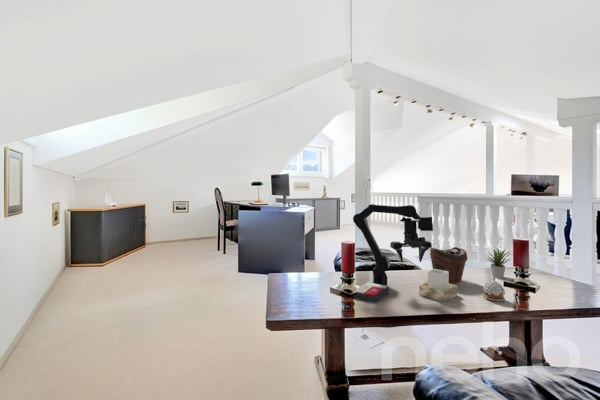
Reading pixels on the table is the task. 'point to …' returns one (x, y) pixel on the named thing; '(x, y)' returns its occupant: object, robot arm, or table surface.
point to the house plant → (498, 263)
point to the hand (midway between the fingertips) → (411, 262)
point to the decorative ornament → (494, 289)
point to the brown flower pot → (449, 262)
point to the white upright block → (438, 279)
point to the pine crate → (438, 292)
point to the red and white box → (371, 292)
